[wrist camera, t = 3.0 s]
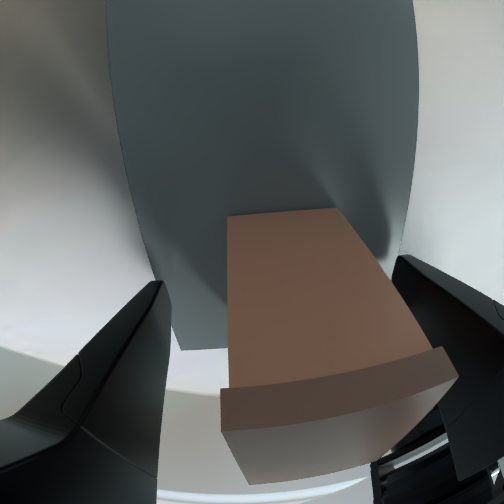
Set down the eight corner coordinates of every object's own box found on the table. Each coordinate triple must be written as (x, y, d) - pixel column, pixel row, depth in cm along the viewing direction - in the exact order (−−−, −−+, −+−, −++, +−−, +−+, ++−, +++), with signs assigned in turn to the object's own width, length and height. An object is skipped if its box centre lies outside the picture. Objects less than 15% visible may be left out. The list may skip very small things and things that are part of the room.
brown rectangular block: (311, 272, 12) (376, 460, 5) (236, 280, 12) (249, 485, 5) (316, 176, 10) (459, 375, 3) (224, 182, 10) (220, 430, 3)
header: (354, 282, 13) (377, 326, 11) (187, 299, 13) (181, 350, 10) (346, -90, 3) (375, -119, 1) (141, -86, 3) (120, -119, 1)
